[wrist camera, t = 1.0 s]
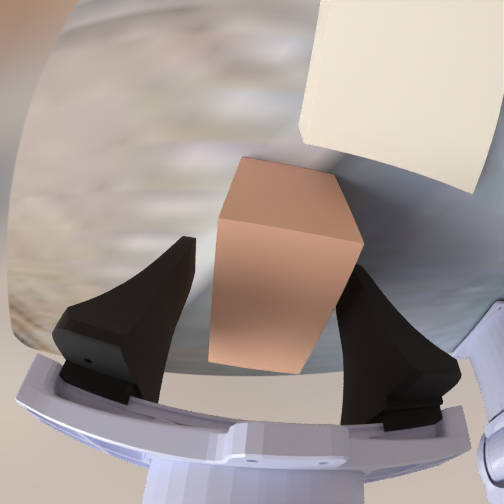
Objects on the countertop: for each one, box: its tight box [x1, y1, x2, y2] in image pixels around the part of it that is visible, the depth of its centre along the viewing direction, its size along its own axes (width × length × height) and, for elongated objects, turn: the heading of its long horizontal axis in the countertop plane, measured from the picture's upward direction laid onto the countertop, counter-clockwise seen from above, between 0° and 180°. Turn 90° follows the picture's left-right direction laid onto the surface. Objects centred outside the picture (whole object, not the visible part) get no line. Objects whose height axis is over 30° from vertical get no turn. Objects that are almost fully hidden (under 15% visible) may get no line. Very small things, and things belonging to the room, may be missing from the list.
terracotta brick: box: [208, 157, 364, 374], centre depth 13 cm, size 4×8×6 cm, turn 172°
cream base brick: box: [298, 0, 504, 194], centre depth 7 cm, size 8×12×4 cm, turn 172°
